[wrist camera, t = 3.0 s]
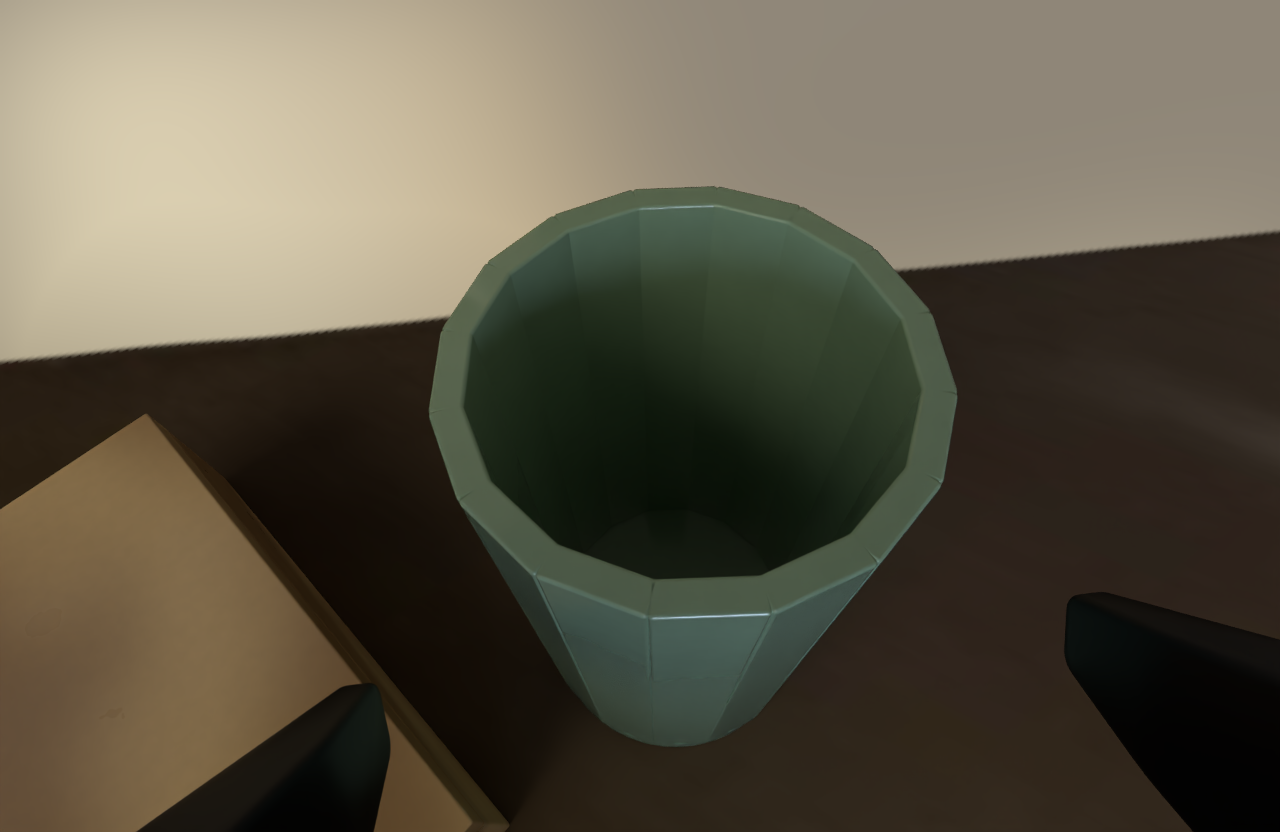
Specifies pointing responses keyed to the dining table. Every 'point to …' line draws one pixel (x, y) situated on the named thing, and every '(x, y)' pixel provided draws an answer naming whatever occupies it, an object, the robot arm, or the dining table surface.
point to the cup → (689, 442)
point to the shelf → (173, 650)
